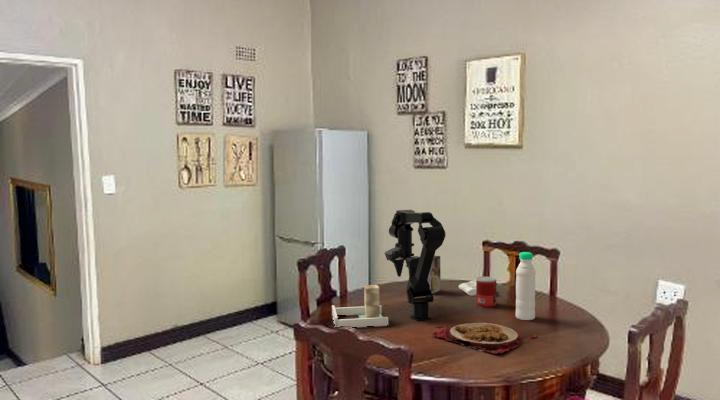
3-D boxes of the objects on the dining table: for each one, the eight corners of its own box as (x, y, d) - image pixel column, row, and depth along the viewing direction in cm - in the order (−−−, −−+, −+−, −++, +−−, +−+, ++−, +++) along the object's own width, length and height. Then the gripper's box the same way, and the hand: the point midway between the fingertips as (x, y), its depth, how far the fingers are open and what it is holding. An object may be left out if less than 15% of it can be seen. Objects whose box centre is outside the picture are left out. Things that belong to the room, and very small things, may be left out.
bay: (381, 312, 211) (381, 302, 211) (388, 325, 195) (388, 315, 195) (332, 315, 208) (331, 305, 208) (335, 328, 193) (335, 317, 192)
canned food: (498, 307, 216) (498, 280, 215) (478, 307, 216) (478, 280, 215) (493, 302, 223) (493, 276, 222) (474, 302, 223) (474, 276, 222)
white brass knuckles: (456, 288, 248) (485, 286, 251) (470, 298, 230) (502, 296, 233) (456, 281, 248) (485, 279, 250) (470, 291, 230) (502, 289, 233)
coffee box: (428, 288, 247) (428, 254, 246) (441, 290, 243) (440, 255, 242) (418, 292, 240) (418, 257, 239) (431, 294, 236) (430, 259, 235)
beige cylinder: (377, 316, 205) (377, 284, 204) (379, 320, 200) (379, 287, 199) (364, 317, 205) (364, 285, 203) (366, 321, 200) (365, 288, 198)
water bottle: (536, 321, 197) (536, 254, 195) (516, 320, 199) (517, 254, 196) (533, 315, 204) (534, 251, 202) (514, 314, 206) (515, 250, 203)
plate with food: (499, 359, 164) (499, 348, 164) (430, 337, 183) (431, 327, 182) (537, 340, 181) (538, 329, 181) (471, 321, 200) (471, 312, 200)
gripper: (376, 239, 219) (376, 276, 221) (399, 246, 203) (400, 286, 204) (399, 237, 224) (399, 273, 226) (424, 243, 208) (424, 282, 209)
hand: (405, 278), depth 216 cm, fingers open, 9 cm apart
